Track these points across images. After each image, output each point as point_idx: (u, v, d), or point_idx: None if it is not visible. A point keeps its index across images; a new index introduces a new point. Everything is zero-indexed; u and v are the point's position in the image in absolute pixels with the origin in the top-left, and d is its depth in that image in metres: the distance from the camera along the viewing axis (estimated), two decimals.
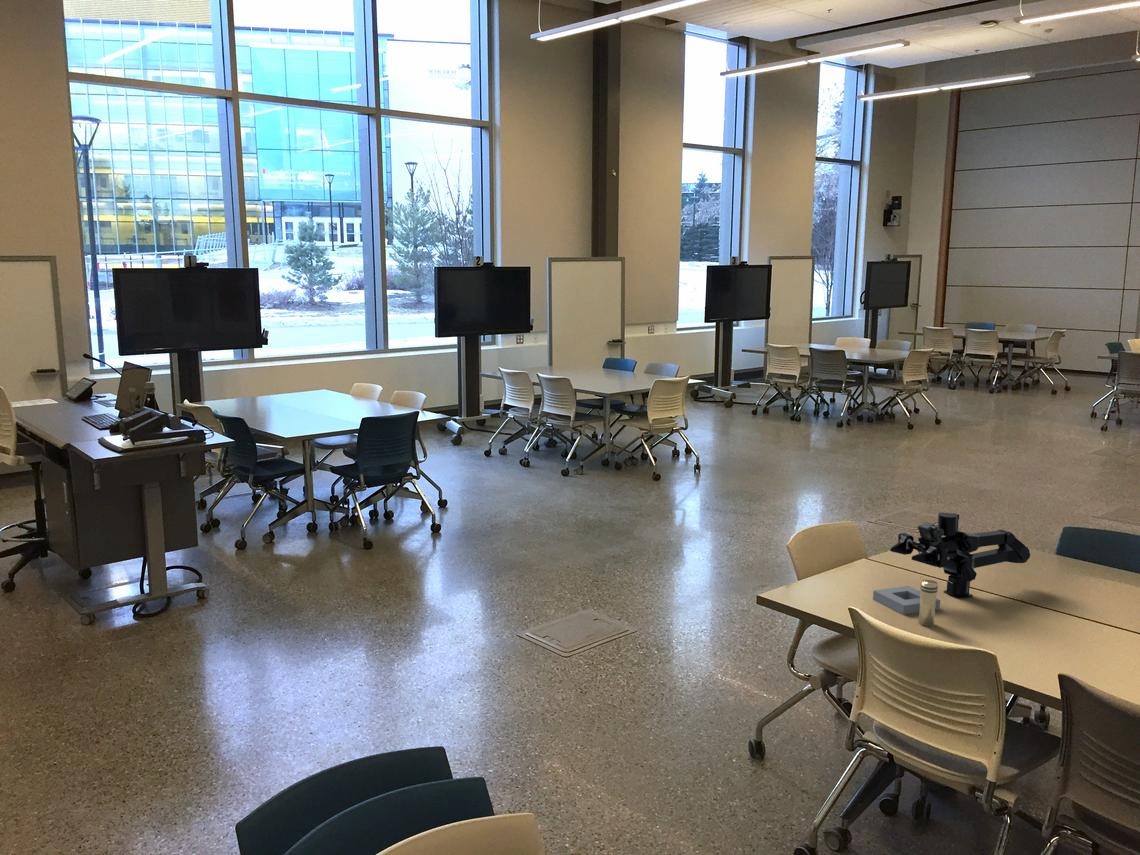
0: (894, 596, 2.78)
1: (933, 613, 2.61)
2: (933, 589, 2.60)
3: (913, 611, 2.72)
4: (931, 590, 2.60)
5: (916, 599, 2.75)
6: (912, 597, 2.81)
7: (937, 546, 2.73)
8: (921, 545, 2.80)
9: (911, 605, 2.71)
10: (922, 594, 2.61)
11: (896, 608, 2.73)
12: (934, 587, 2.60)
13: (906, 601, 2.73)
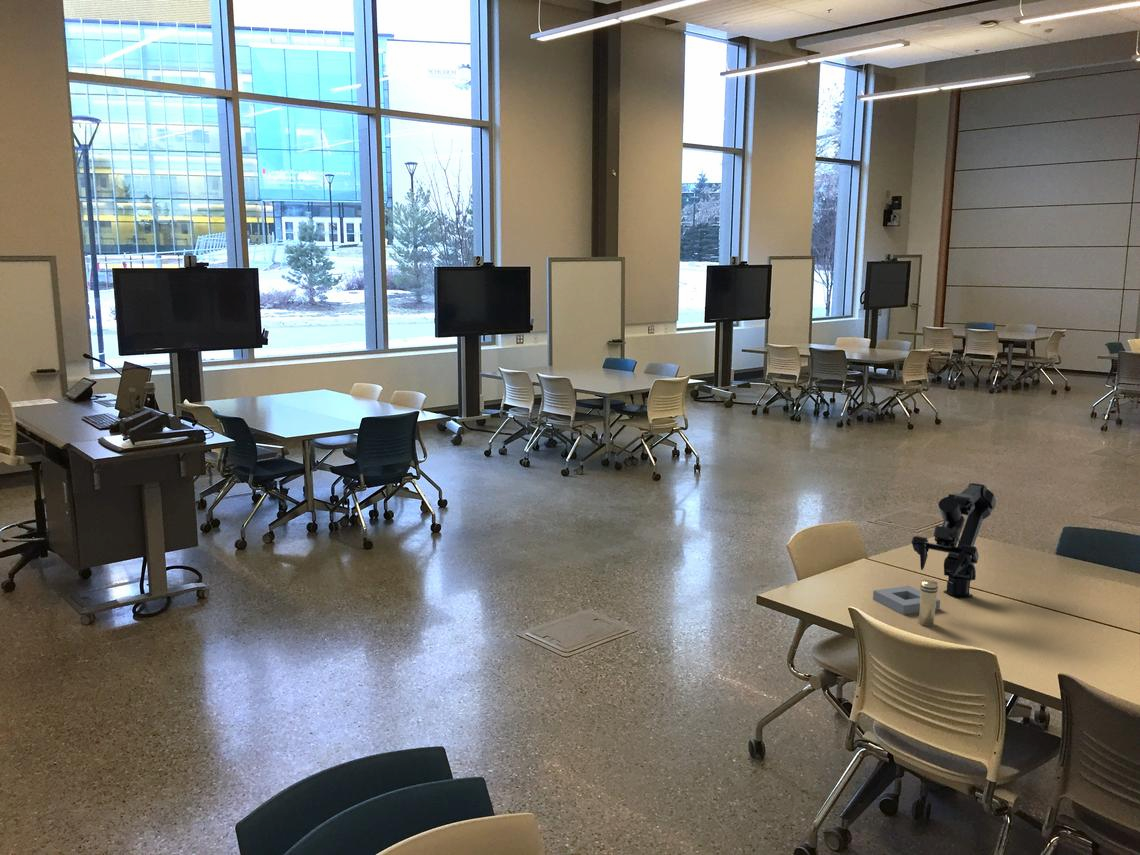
0: (894, 596, 2.78)
1: (933, 613, 2.61)
2: (933, 589, 2.60)
3: (913, 611, 2.72)
4: (931, 590, 2.60)
5: (916, 599, 2.75)
6: (912, 597, 2.81)
7: (965, 548, 2.65)
8: (942, 546, 2.71)
9: (911, 605, 2.71)
10: (922, 594, 2.61)
11: (896, 608, 2.73)
12: (934, 587, 2.60)
13: (906, 601, 2.73)
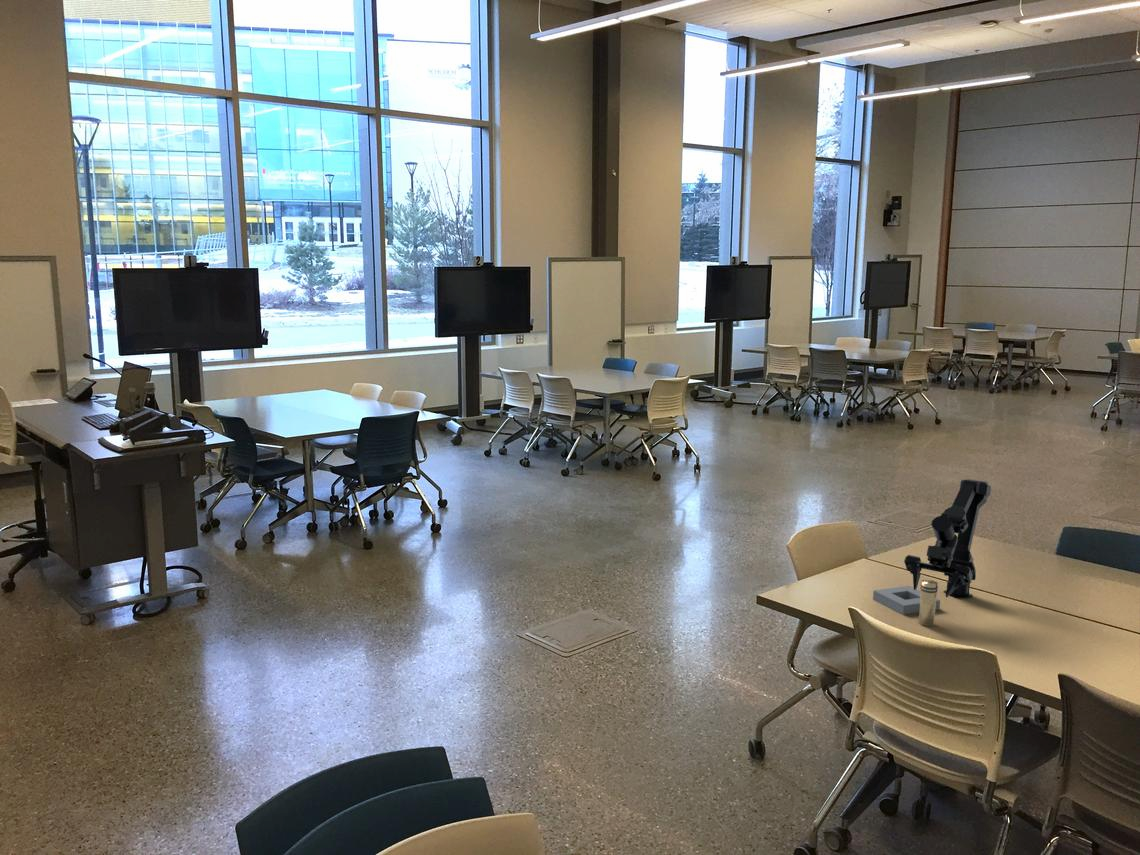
0: (894, 596, 2.78)
1: (933, 613, 2.61)
2: (933, 589, 2.60)
3: (913, 611, 2.72)
4: (931, 590, 2.60)
5: (916, 599, 2.75)
6: (912, 597, 2.81)
7: (958, 569, 2.61)
8: (935, 566, 2.67)
9: (911, 605, 2.71)
10: (922, 594, 2.61)
11: (896, 608, 2.73)
12: (934, 587, 2.60)
13: (906, 601, 2.73)
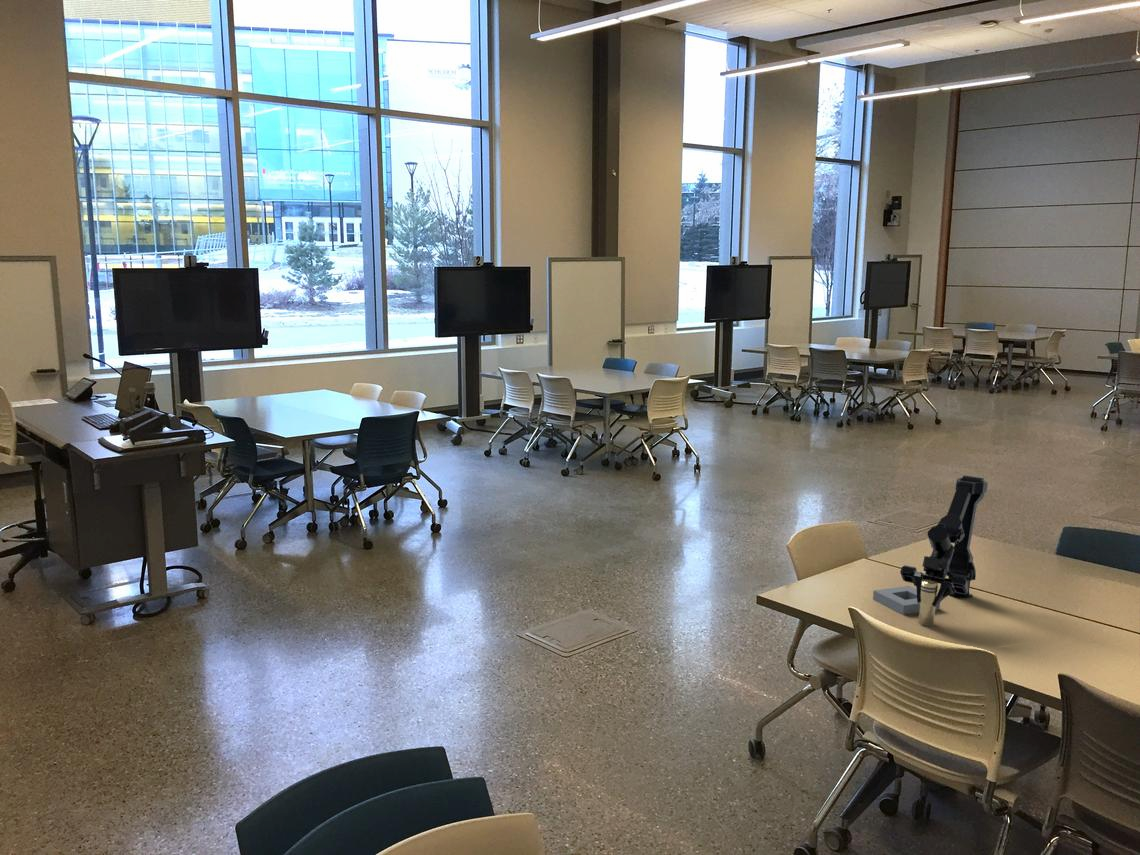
0: (894, 596, 2.78)
1: (933, 613, 2.61)
2: (933, 589, 2.60)
3: (913, 611, 2.72)
4: (931, 590, 2.60)
5: (916, 599, 2.75)
6: (912, 597, 2.81)
7: (955, 580, 2.59)
8: (932, 576, 2.65)
9: (911, 605, 2.71)
10: (922, 594, 2.61)
11: (896, 608, 2.73)
12: (934, 587, 2.60)
13: (906, 601, 2.73)
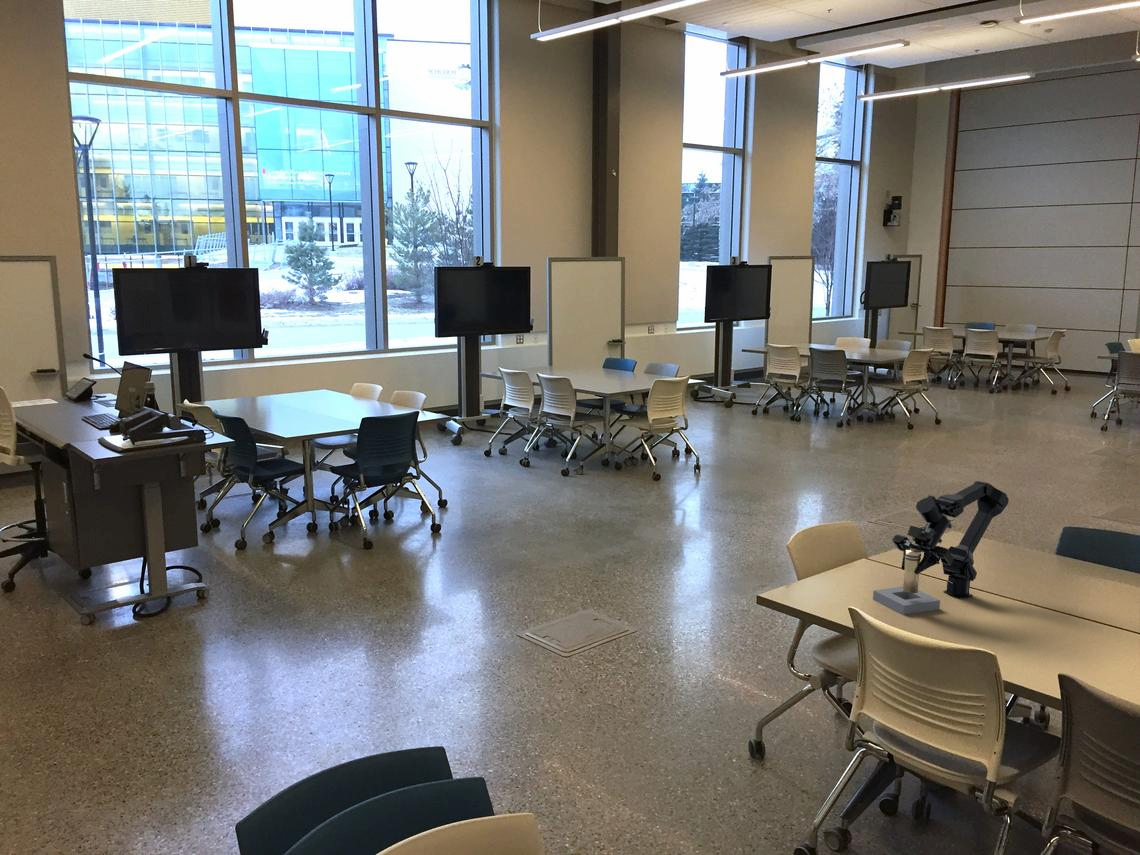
0: (894, 596, 2.78)
1: (915, 580, 2.71)
2: (914, 557, 2.70)
3: (913, 611, 2.72)
4: (912, 558, 2.70)
5: (916, 599, 2.75)
6: (912, 597, 2.81)
7: (936, 550, 2.68)
8: (919, 546, 2.74)
9: (911, 605, 2.71)
10: (905, 561, 2.73)
11: (896, 608, 2.73)
12: (915, 555, 2.70)
13: (906, 601, 2.73)
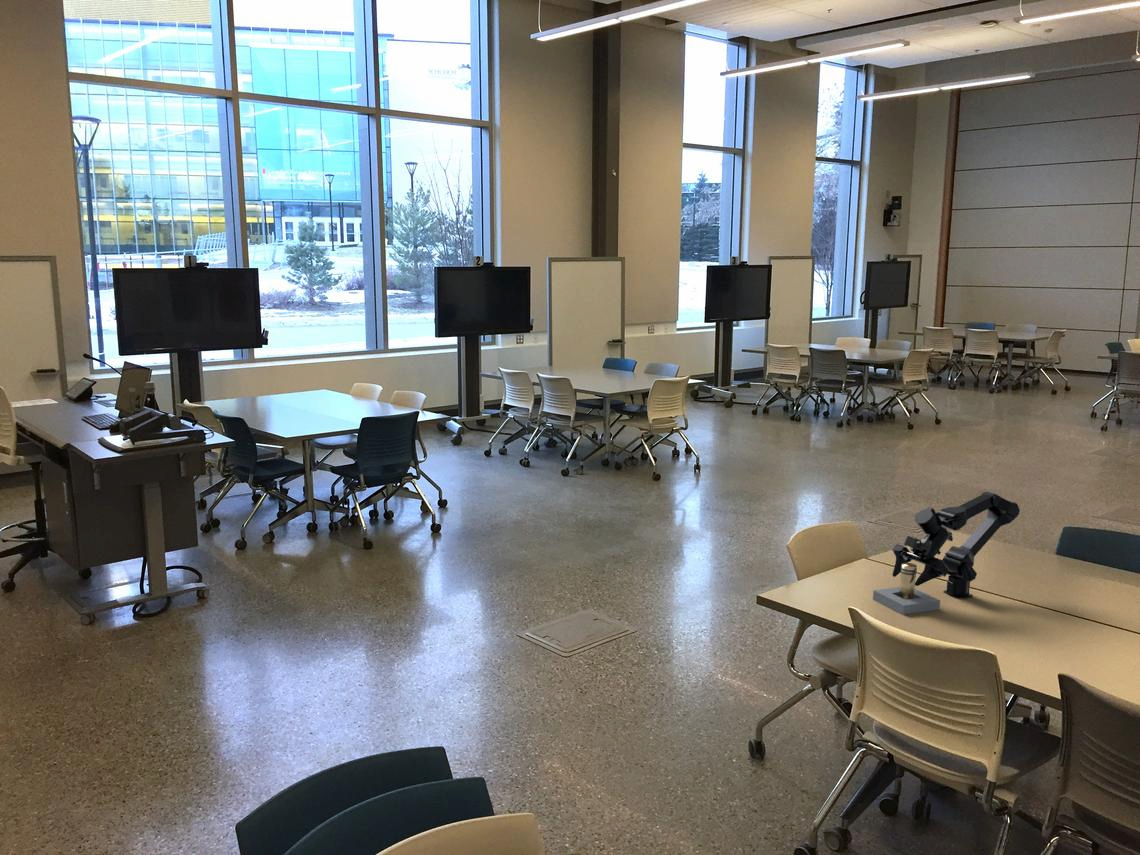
0: (894, 596, 2.78)
1: (910, 594, 2.77)
2: (909, 571, 2.75)
3: (913, 611, 2.72)
4: (907, 572, 2.76)
5: (916, 599, 2.75)
6: None
7: (931, 560, 2.72)
8: (917, 556, 2.79)
9: (911, 605, 2.71)
10: (901, 575, 2.78)
11: (896, 608, 2.73)
12: (910, 569, 2.75)
13: (906, 601, 2.73)
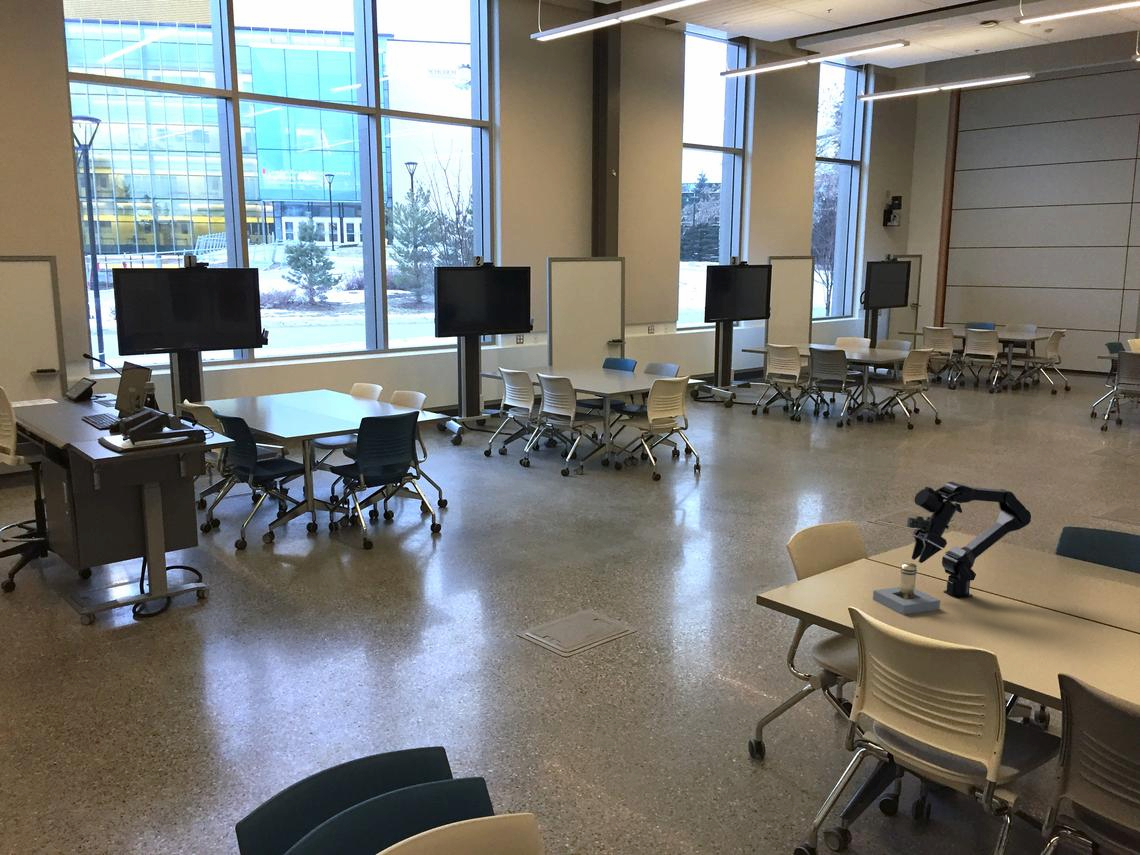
0: (894, 596, 2.78)
1: (910, 594, 2.77)
2: (909, 571, 2.75)
3: (913, 611, 2.72)
4: (907, 572, 2.76)
5: (916, 599, 2.75)
6: None
7: (925, 535, 2.77)
8: None
9: (911, 605, 2.71)
10: (901, 575, 2.78)
11: (896, 608, 2.73)
12: (910, 569, 2.75)
13: (906, 601, 2.73)
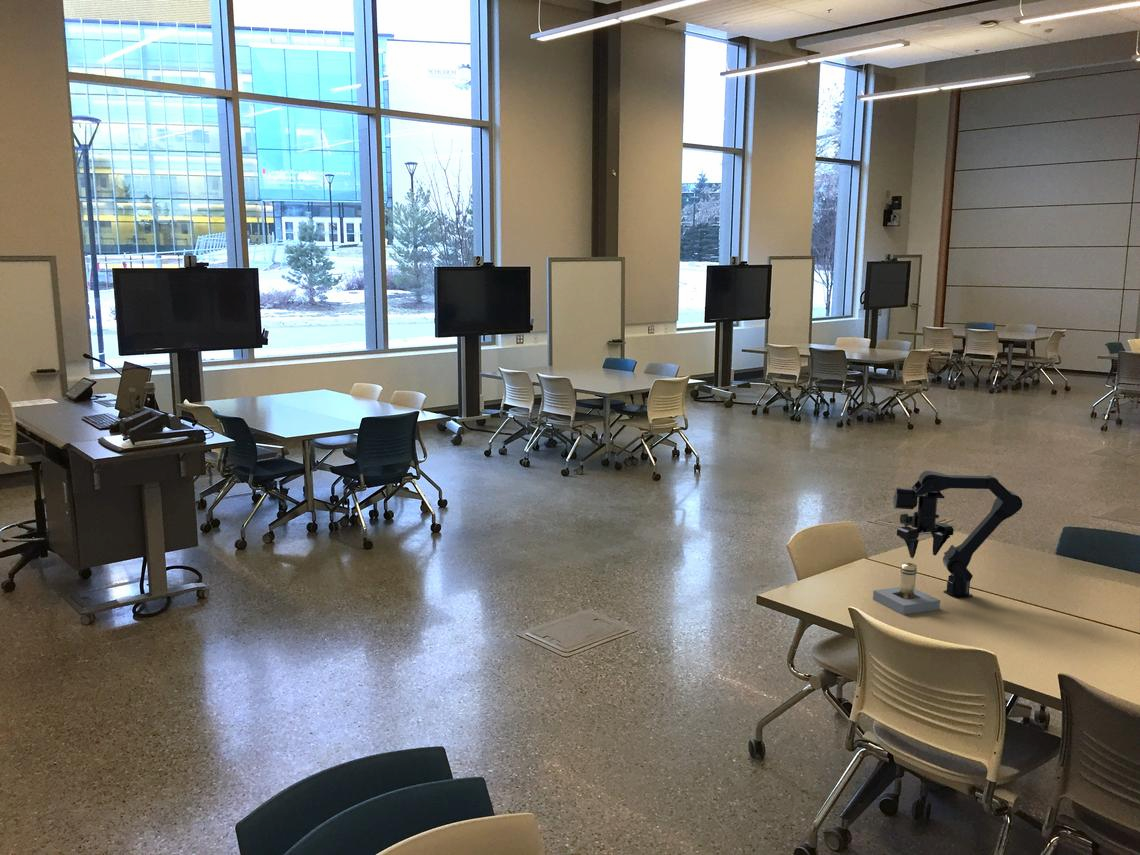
0: (894, 596, 2.78)
1: (910, 594, 2.77)
2: (909, 571, 2.75)
3: (913, 611, 2.72)
4: (907, 572, 2.76)
5: (916, 599, 2.75)
6: None
7: None
8: None
9: (911, 605, 2.71)
10: (901, 575, 2.78)
11: (896, 608, 2.73)
12: (910, 569, 2.75)
13: (906, 601, 2.73)
